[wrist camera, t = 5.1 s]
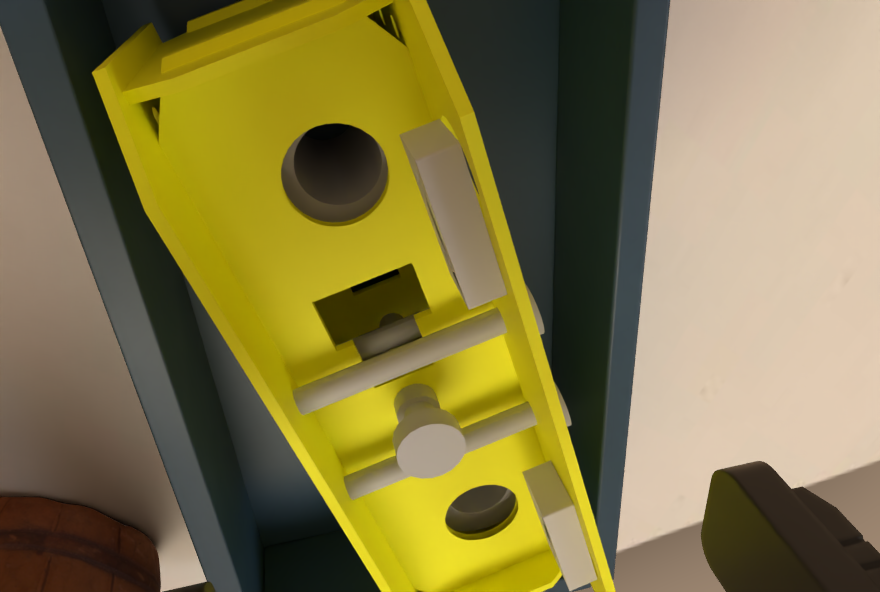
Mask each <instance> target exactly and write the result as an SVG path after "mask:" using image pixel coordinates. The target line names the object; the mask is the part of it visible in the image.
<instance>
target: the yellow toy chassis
mask: <svg viewBox="0 0 880 592" xmlns="http://www.w3.org/2000/svg"><path fill="white" fill-rule="evenodd" d="M372 14H373V15H372ZM92 74H93V76H94V79H95V82H96V84H97V87H98V90H99V92H100V95H101V98H102V100H103V103H104V105H105V108H106V111H107V113H108V116H109V119H110V121H111V124H112V126H113V129H114V132H115V134H116V137H117V140H118V142H119V145H120V148H121V150H122V153H123V155H124V158H125V161H126V163H127V166H128V169H129V171H130V174H131V176H132V179H133V182H134V184H135V187H136V190H137V192H138V195H139V198H140V200H141V203H142V205H143V208H144V211H145V212H146V214H147V216H148V217H149V219H150V221H151V222H152V224H153V225H154V227H155V229H156V230H157V232H158V233H159V235H160V237H161V238H162V240H163V241H164V243H165V245H166V246H167V248H168V249H169V251H170V253H171V254H172V256H173V258H174V259H175V261H176V262H177V264H178V266H179V267H180V269H181V270H182V272H183V274H184V275H185V277H186V278H187V280H188V282H189V283H190V285H191V286H192V288H193V290H194V291H195V293H196V294H197V296H198V298H199V299H200V301H201V303H202V304H203V306H204V307H205V309H206V311H207V312H208V314H209V315H210V317H211V319H212V320H213V322H214V323H215V325H216V327H217V328H218V330H219V331H220V333H221V335H222V336H223V338H224V340H225V341H226V343H227V344H228V346H229V348H230V349H231V351H232V352H233V354H234V356H235V357H236V359H237V360H238V362H239V364H240V365H241V367H242V368H243V370H244V372H245V373H246V375H247V377H248V378H249V380H250V381H251V383H252V385H253V386H254V388H255V389H256V391H257V393H258V394H259V396H260V397H261V399H262V401H263V402H264V404H265V405H266V407H267V409H268V410H269V412H270V414H271V415H272V417H273V418H274V420H275V422H276V423H277V425H278V426H279V428H280V430H281V431H282V433H283V434H284V436H285V438H286V439H287V441H288V442H289V444H290V446H291V447H292V449H293V451H294V452H295V454H296V455H297V457H298V459H299V460H300V462H301V463H302V465H303V467H304V468H305V470H306V471H307V473H308V475H309V476H310V478H311V479H312V481H313V483H314V484H315V486H316V488H317V489H318V491H319V492H320V494H321V496H322V497H323V499H324V500H325V502H326V504H327V505H328V507H329V508H330V510H331V512H332V513H333V515H334V516H335V518H336V520H337V521H338V523H339V525H340V526H341V528H342V529H343V531H344V533H345V534H346V536H347V537H348V539H349V541H350V542H351V544H352V545H353V547H354V549H355V550H356V552H357V553H358V555H359V557H360V558H361V560H362V562H363V563H364V565H365V566H366V568H367V570H368V571H369V573H370V574H371V576H372V578H373V579H374V581H375V582H376V584H377V586H378V587H379V589H380V590H381V592H542V591H545V590H547V589H549V588H552V587H553V586H554V585H555V584H556V583H557V581H558V580H559V579H560V577H561V576H562V575H563V577H564V580H565V582H566V584H567V586H568V589H569V591H572V590H574V589H576V588H579V587H581V586H583V585H586V584H588V583H590V584H591V586H592V588H593V590H594V592H616V591H615V587H614V584H613V581H612V577H611V574H610V570H609V567H608V564H607V560H606V557H605V554H604V550H603V547H602V543H601V540H600V537H599V533H598V530H597V526H596V523H595V520H594V516H593V513H592V509H591V506H590V503H589V499H588V496H587V493H586V489H585V486H584V482H583V479H582V476H581V472H580V469H579V465H578V462H577V459H576V455H575V452H574V448H573V445H572V442H571V438H570V435H569V432H568V428H567V427H568V426H570V425H571V419H570V415H569V412H568V409H567V407H566V404H565V402H564V400H563V397H562V395H561V393H560V391H559V389H558V387H557V385H556V384H555V382H554V381H553V377H552V374H551V371H550V367H549V364H548V360H547V357H546V354H545V350H544V347H543V343H542V340H541V337H540V335H541V334H544V332H545V331H544V325H543V321H542V318H541V315H540V312H539V310H538V307H537V305H536V302H535V300H534V298H533V296H532V294H531V292H530V290H529V288H528V287H527V285H526V284H525V282H524V279H523V276H522V272H521V269H520V265H519V262H518V259H517V255H516V252H515V248H514V245H513V242H512V238H511V235H510V232H509V228H508V225H507V221H506V218H505V215H504V211H503V208H502V204H501V201H500V198H499V194H498V191H497V187H496V184H495V181H494V177H493V174H492V171H491V167H490V164H489V160H488V157H487V154H486V150H485V147H484V143H483V140H482V137H481V133H480V130H479V126H478V123H477V120H476V116H475V113H474V110H473V108H472V106H471V103H470V101H469V99H468V96H467V94H466V92H465V89H464V87H463V85H462V82H461V80H460V78H459V75H458V73H457V71H456V69H455V66H454V64H453V62H452V59H451V57H450V55H449V52H448V50H447V48H446V45H445V43H444V41H443V38H442V36H441V34H440V31H439V29H438V27H437V24H436V22H435V20H434V17H433V15H432V13H431V10H430V8H429V6H428V3H427V1H426V0H241V1H239V2H236V3H233V4H231V5H228V6H226V7H223V8H220V9H218V10H215V11H213V12H210V13H207V14H205V15H202V16H200V17H197V18H195V19H192V20H189V21H188V22H187V32H186V33H184V34H182V35H179V36H177V37H175V38H173V39H171V40H169V41H166V42H164V43H162V41H161V39H160V37H159V35H158V34H157V32H156V30H155V28H154V26H153V24H152V22H151V23H148V24H146V25H143V26H142V27H140V28H139V29H138V30H137V31H136V32H135V33H134V34H133V35H132V36H131V37H130V38H129V39H128V40H126V41H125V42H124V43H123V44H122V45H121V46H120V47H119V48H118V49H117V50H116V51H115V52H113V53H112V54H111V55H110V56H109V57H108V58H107V59H106V60H105V61H104V62H103V63H102V64H101V65H99V66H98V67H97V68H96V69H95V70H94V71H93V72H92ZM331 123H341V124H347V125H350V126H349V128H348V129H347V130H346V131H345V132H344V133H342V134H341V135H339V136H338V137H335V138H333V139H329V140H316V139H312V138H309V137H307V136H305V135H304V134H305V133H306V132H307V131H309V130H310V129H312V128H314V127H316V126H320V125H324V124H331ZM458 140H459V141H458ZM461 147H462V148H461ZM462 149H463V151H462ZM463 152H464V154H465V156H466V159H467V162H468V164H469V167H470V169H471V172H472V175H473V178H474V181H475V184H476V187H477V189H478V192H477V190H476V188H475V185H474V183H473V181H472V178H471V176H470V173H469V170H468V167H467V164H466V161H465V157H464V154H463ZM478 193H479V194H478ZM395 269H398V271H399V273H400V274H398V275H396V276H393V277H391V278H388V279H386V280H383V281H381V282H378V283H376V284H373V285H371V286H368V287H366V288H363V289H361V290H358V291H356V292H352V290H351V288H350V287H352V286H355V285H357V284H360V283H362V282H365V281H367V280H370V279H372V278H375V277H377V276H380V275H382V274H385V273H387V272H390V271H392V270H395Z"/></svg>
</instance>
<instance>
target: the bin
mask: <svg viewBox="0 0 880 592" xmlns="http://www.w3.org/2000/svg"><path fill="white" fill-rule="evenodd" d="M239 1H241V0H0V26H1V29H2V32H3V34H4V37H5V40H6V42H7V45H8V48H9V50H10V53H11V56H12V59H13V61H14V64H15V67H16V69H17V72H18V75H19V77H20V80H21V83H22V85H23V88H24V91H25V93H26V96H27V99H28V102H29V104H30V107H31V110H32V112H33V115H34V118H35V120H36V123H37V126H38V128H39V131H40V134H41V136H42V139H43V142H44V145H45V147H46V150H47V153H48V155H49V158H50V161H51V163H52V166H53V169H54V171H55V174H56V177H57V179H58V182H59V185H60V187H61V190H62V193H63V196H64V198H65V201H66V204H67V206H68V209H69V212H70V214H71V217H72V220H73V222H74V225H75V228H76V230H77V233H78V236H79V239H80V241H81V244H82V247H83V249H84V252H85V255H86V257H87V260H88V263H89V265H90V268H91V271H92V273H93V276H94V279H95V282H96V284H97V287H98V290H99V292H100V295H101V298H102V300H103V303H104V306H105V308H106V311H107V314H108V316H109V319H110V322H111V324H112V327H113V330H114V333H115V335H116V338H117V341H118V343H119V346H120V349H121V351H122V354H123V357H124V359H125V362H126V365H127V367H128V370H129V373H130V376H131V378H132V381H133V384H134V386H135V389H136V392H137V394H138V397H139V400H140V402H141V405H142V408H143V410H144V413H145V416H146V419H147V421H148V424H149V427H150V429H151V432H152V435H153V437H154V440H155V443H156V445H157V448H158V451H159V453H160V456H161V459H162V461H163V464H164V467H165V470H166V472H167V475H168V478H169V480H170V483H171V486H172V488H173V491H174V494H175V496H176V499H177V502H178V504H179V507H180V510H181V513H182V515H183V518H184V521H185V523H186V526H187V529H188V531H189V534H190V537H191V539H192V542H193V545H194V547H195V550H196V553H197V556H198V558H199V561H200V564H201V566H202V569H203V572H204V574H205V577H206V580H207V582H211V583H212V585H213V587H214V589H215V592H381V590H380V589H379V587H378V586H377V584H376V582H375V581H374V579H373V578H372V576H371V574H370V573H369V571H368V570H367V568H366V566H365V565H364V563H363V562H362V560H361V558H360V557H359V555H358V553H357V552H356V550H355V549H354V547H353V545H352V544H351V542H350V541H349V539H348V537H347V536H346V534H345V533H344V531H343V529H342V528H341V526H340V525H339V523H338V521H337V520H336V518H335V516H334V515H333V513H332V512H331V510H330V508H329V507H328V505H327V504H326V502H325V500H324V499H323V497H322V496H321V494H320V492H319V491H318V489H317V488H316V486H315V484H314V483H313V481H312V479H311V478H310V476H309V475H308V473H307V471H306V470H305V468H304V467H303V465H302V463H301V462H300V460H299V459H298V457H297V455H296V454H295V452H294V451H293V449H292V447H291V446H290V444H289V442H288V441H287V439H286V438H285V436H284V434H283V433H282V431H281V430H280V428H279V426H278V425H277V423H276V422H275V420H274V418H273V417H272V415H271V414H270V412H269V410H268V409H267V407H266V405H265V404H264V402H263V401H262V399H261V397H260V396H259V394H258V393H257V391H256V389H255V388H254V386H253V385H252V383H251V381H250V380H249V378H248V377H247V375H246V373H245V372H244V370H243V368H242V367H241V365H240V364H239V362H238V360H237V359H236V357H235V356H234V354H233V352H232V351H231V349H230V348H229V346H228V344H227V343H226V341H225V340H224V338H223V336H222V335H221V333H220V331H219V330H218V328H217V327H216V325H215V323H214V322H213V320H212V319H211V317H210V315H209V314H208V312H207V311H206V309H205V307H204V306H203V304H202V303H201V301H200V299H199V298H198V296H197V294H196V293H195V291H194V290H193V288H192V286H191V285H190V283H189V282H188V280H187V278H186V277H185V275H184V274H183V272H182V270H181V269H180V267H179V266H178V264H177V262H176V261H175V259H174V258H173V256H172V254H171V253H170V251H169V249H168V248H167V246H166V245H165V243H164V241H163V240H162V238H161V237H160V235H159V233H158V232H157V230H156V229H155V227H154V225H153V224H152V222H151V221H150V219H149V217H148V216H147V214H146V212H145V211H144V208H143V205H142V203H141V200H140V198H139V195H138V192H137V190H136V187H135V184H134V182H133V179H132V176H131V174H130V171H129V169H128V166H127V163H126V161H125V158H124V155H123V153H122V150H121V148H120V145H119V142H118V140H117V137H116V134H115V132H114V129H113V126H112V124H111V121H110V119H109V116H108V113H107V111H106V108H105V105H104V103H103V100H102V98H101V95H100V92H99V90H98V87H97V84H96V82H95V79H94V76H93V74H92V72H93V71H94V70H95V69H96V68H97V67H98V66H99V65H101V64H102V63H103V62H104V61H105V60H106V59H107V58H108V57H109V56H110V55H111V54H112V53H113V52H115V51H116V50H117V49H118V48H119V47H120V46H121V45H122V44H123V43H124V42H125V41H126V40H128V39H129V38H130V37H131V36H132V35H133V34H134V33H135V32H136V31H137V30H138V29H139V28H140V27H142V26H143V25H146V24H148V23H151V22H152V24H153V26H154V28H155V30H156V32H157V34H158V35H159V37H160V39H161V41H162V43H164V42H166V41H169V40H171V39H173V38H175V37H177V36H179V35H182V34H184V33H186V32H187V22H188V21H189V20H192V19H195V18H197V17H200V16H202V15H205V14H207V13H210V12H213V11H215V10H218V9H220V8H223V7H226V6H228V5H231V4H233V3H236V2H239ZM426 1H427V3H428V6H429V8H430V10H431V13H432V15H433V17H434V20H435V22H436V24H437V27H438V29H439V31H440V34H441V36H442V38H443V41H444V43H445V45H446V48H447V50H448V52H449V55H450V57H451V59H452V62H453V64H454V66H455V69H456V71H457V73H458V75H459V78H460V80H461V82H462V85H463V87H464V89H465V92H466V94H467V96H468V99H469V101H470V103H471V106H472V108H473V110H474V113H475V116H476V120H477V123H478V126H479V130H480V133H481V137H482V140H483V143H484V147H485V150H486V154H487V157H488V160H489V164H490V167H491V171H492V174H493V177H494V181H495V184H496V187H497V191H498V194H499V198H500V201H501V204H502V208H503V211H504V215H505V218H506V221H507V225H508V228H509V232H510V235H511V238H512V242H513V245H514V248H515V252H516V255H517V259H518V262H519V265H520V269H521V272H522V276H523V279H524V282H525V284H526V285H527V287H528V288H529V290H530V292H531V294H532V296H533V298H534V300H535V302H536V305H537V307H538V310H539V312H540V315H541V318H542V321H543V325H544V331H545V332H544V334H541V335H540V337H541V340H542V343H543V347H544V350H545V354H546V357H547V360H548V364H549V367H550V371H551V374H552V377H553V381H554V382H555V384H556V385H557V387H558V389H559V391H560V393H561V395H562V397H563V400H564V402H565V404H566V407H567V409H568V412H569V415H570V419H571V425H570V426H568V427H567V428H568V432H569V435H570V438H571V442H572V445H573V448H574V452H575V455H576V459H577V462H578V465H579V469H580V472H581V476H582V479H583V482H584V486H585V489H586V493H587V496H588V499H589V503H590V506H591V509H592V513H593V516H594V520H595V523H596V526H597V530H598V533H599V537H600V540H601V543H602V547H603V550H604V554H605V557H606V560H607V564H608V567H609V570H610V574H611V577H612V581H613V579H614V569H615V559H616V549H617V538H618V528H619V518H620V508H621V498H622V487H623V477H624V467H625V457H626V446H627V436H628V426H629V416H630V406H631V395H632V385H633V375H634V365H635V354H636V344H637V334H638V324H639V314H640V303H641V293H642V283H643V273H644V262H645V252H646V242H647V232H648V222H649V211H650V201H651V191H652V181H653V170H654V160H655V150H656V140H657V129H658V119H659V109H660V99H661V89H662V78H663V68H664V58H665V48H666V37H667V27H668V17H669V7H670V0H426ZM372 15H373V14H372ZM349 126H350V125H347V124H341V123H331V124H324V125H320V126H316V127H314V128H312V129H310V130H309V131H307V132H306V133H305V134H304V135H305V136H307V137H309V138H312V139H316V140H329V139H333V138H335V137H338V136H339V135H341V134H342V133H344V132H345V131H346V130H347V129H348V128H349ZM458 141H459V140H458ZM461 148H462V147H461ZM462 151H463V149H462ZM463 154H464V152H463ZM464 157H465V161H466V164H467V167H468V170H469V173H470V176H471V178H472V181H473V183H474V185H475V188H476V190H477V192H478V189H477V187H476V184H475V181H474V178H473V175H472V172H471V169H470V167H469V164H468V162H467V159H466V156H465V154H464ZM478 194H479V193H478ZM398 274H400V273H399V271H398V269H395V270H392V271H390V272H387V273H385V274H382V275H380V276H377V277H375V278H372V279H370V280H367V281H365V282H362V283H360V284H357V285H355V286H352V287H350V288H351V290H352V292H356V291H358V290H361V289H363V288H366V287H368V286H371V285H373V284H376V283H378V282H381V281H383V280H386V279H388V278H391V277H393V276H396V275H398ZM589 587H591V584H590V583H588V584H586V585H583V586H581V587H579V588H576V589H574V590H572V591H569V589H568V586H567V584H566V582H565V580H564V577H563V575H562V576H561V577H560V579H559V580H558V581H557V583H556V584H555V585H554V586H553V587H552V588H549V589H547V590H545V591H542V592H574V591H578V590H582V589H586V588H589Z"/></svg>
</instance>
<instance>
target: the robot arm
mask: <svg viewBox="0 0 880 592" xmlns="http://www.w3.org/2000/svg"><path fill="white" fill-rule="evenodd" d="M701 540H702V546H703V550H704V554H705V556H706V559H707V561H708V564H709V566H710V568H711V570H712V571H713V573H714V574H715V576H716V577H717V579H718V580H719V582H720V583H721V585H722V586H723V588H724V589H725V591H726V592H880V553H879V552H878V551H877V550H876V549H875V548H874V547H873V546H872V545H871V544H870V543H869V542H865V541H864V539H863V535H862V534H861V533H860V532H859V531H858V530H857V529H856V528H855V527H854V526H853V525H852V524H851V523H850V522H849V521H848V520H847V519H846V517H845V516H844V515H843V514H842V513H841V512H840V511H839V510H838V509H837V508H836V507H834V506H832V505H831V504H829V503H828V502H826V501H825V500H823V499H821V498H820V497H818V496H816V495H815V494H813V493H811V492H810V491H808V490H807V489H805V488H804V487H799V488H794V489H791V488H790V487H789V486H788V485H787V484H786V482H785V481H784V480H783V479H782V478H781V477H780V476H779V475H778V474H777V472H776V471H775V470H774V469H773V468H772V467H771V466H769V465H768V464H767V463H765V462H762V461H756V462H751V463H747V464H742V465H738V466H734V467H729V468H725V469H720V470H717V471H715V472H714V473H713V475H712V478H711V483H710V488H709V494H708V499H707V504H706V509H705V515H704V520H703V525H702V532H701ZM164 592H215V589H214V587H213V585H212V583H211V582H204V583H200V584H195V585H191V586H186V587H182V588H177V589H173V590H168V591H164Z"/></svg>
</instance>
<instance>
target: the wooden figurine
mask: <svg viewBox="0 0 880 592" xmlns="http://www.w3.org/2000/svg"><path fill="white" fill-rule="evenodd" d="M160 587H161V581H160V565H159V556H158V553H157V550H156V548H155V547H154V545H153V543H152V542H151V540H150V539H149V538H148V537H147V536H146V535H145V534H143V533H142V532H140V531H138V530H136V529H134V528H132V527H131V526H125V525H123V524H121V523H119V522H117V521H115V520H113V519H111V518H109V517H107V516H105V515H103V514H102V513H100V512H98V511H96V510H94V509H91V508H87V507H84V506H80V505H71V504H64V503H60V502H56V501H53V500H49V499H46V498H40V497H0V592H160Z"/></svg>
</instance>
